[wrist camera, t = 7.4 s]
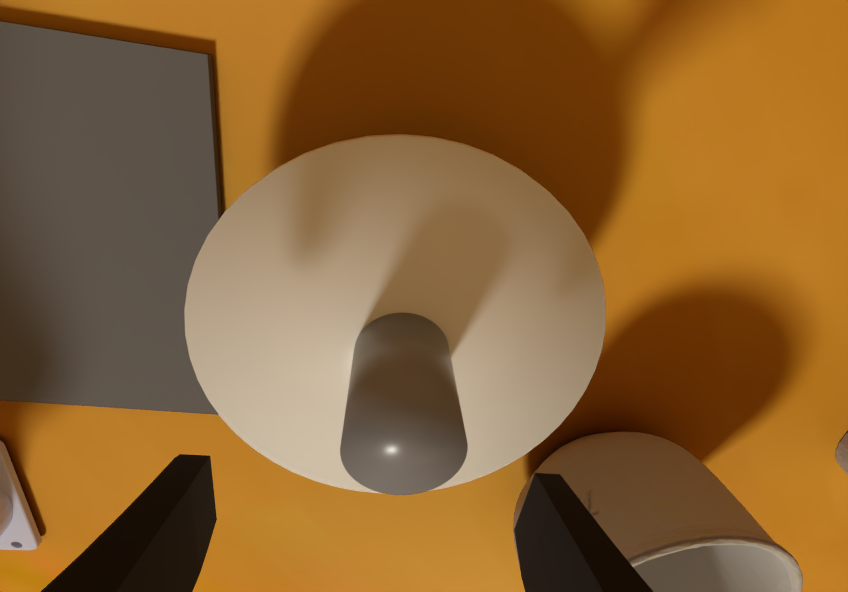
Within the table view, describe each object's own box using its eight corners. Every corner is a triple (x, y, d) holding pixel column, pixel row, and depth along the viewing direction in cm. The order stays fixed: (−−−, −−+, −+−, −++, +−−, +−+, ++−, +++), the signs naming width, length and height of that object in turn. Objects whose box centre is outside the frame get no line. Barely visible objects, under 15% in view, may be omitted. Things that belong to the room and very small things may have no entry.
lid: (208, 471, 17) (148, 602, 12) (169, 96, 11) (32, 115, 7) (538, 488, 18) (579, 610, 14) (661, 170, 12) (794, 222, 8)
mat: (-124, 385, 19) (-134, 391, 19) (-345, -35, 12) (-367, -38, 12) (234, 409, 21) (231, 415, 21) (211, 54, 14) (207, 54, 14)
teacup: (517, 396, 22) (576, 556, 15) (722, 399, 23) (872, 550, 16) (481, 566, 28) (510, 735, 21) (643, 563, 29) (723, 723, 22)
